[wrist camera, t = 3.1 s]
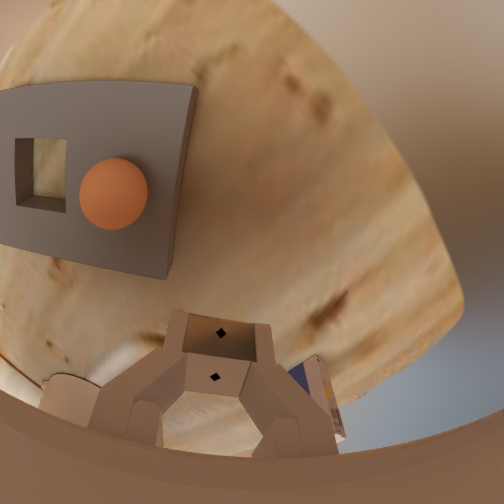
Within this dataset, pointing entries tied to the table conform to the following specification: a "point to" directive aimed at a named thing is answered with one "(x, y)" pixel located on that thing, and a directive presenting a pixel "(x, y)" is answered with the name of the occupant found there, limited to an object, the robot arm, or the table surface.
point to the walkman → (320, 390)
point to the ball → (113, 193)
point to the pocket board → (85, 157)
